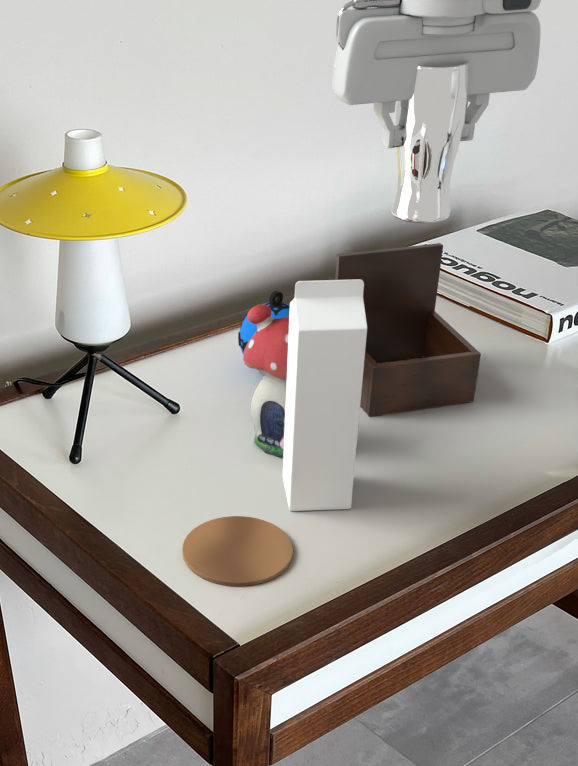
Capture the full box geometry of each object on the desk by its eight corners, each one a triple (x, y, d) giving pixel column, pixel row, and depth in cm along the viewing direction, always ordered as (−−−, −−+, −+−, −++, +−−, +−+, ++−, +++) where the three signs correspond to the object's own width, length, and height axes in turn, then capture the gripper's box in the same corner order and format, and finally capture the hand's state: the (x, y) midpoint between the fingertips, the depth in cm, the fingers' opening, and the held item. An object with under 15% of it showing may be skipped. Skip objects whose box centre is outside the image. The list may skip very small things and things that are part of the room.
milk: (351, 510, 97) (372, 294, 84) (288, 512, 97) (299, 295, 84) (340, 475, 102) (359, 266, 89) (281, 477, 102) (290, 267, 89)
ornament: (272, 395, 116) (275, 313, 110) (223, 369, 121) (223, 290, 115) (325, 372, 120) (330, 292, 115) (275, 347, 126) (278, 271, 120)
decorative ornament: (231, 438, 108) (232, 306, 99) (270, 415, 112) (274, 287, 103) (300, 469, 103) (307, 333, 94) (338, 444, 107) (349, 312, 98)
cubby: (426, 353, 124) (440, 242, 116) (473, 402, 114) (492, 284, 106) (329, 366, 122) (336, 253, 113) (368, 416, 112) (380, 297, 103)
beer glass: (373, 214, 106) (384, 60, 98) (414, 198, 110) (428, 49, 102) (426, 229, 102) (443, 70, 94) (468, 213, 106) (487, 59, 97)
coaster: (273, 512, 97) (273, 508, 97) (308, 575, 89) (308, 572, 89) (171, 528, 95) (171, 525, 95) (197, 594, 87) (197, 591, 87)
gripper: (350, 1, 90) (341, 161, 97) (558, -12, 94) (533, 142, 101) (326, -8, 95) (319, 144, 103) (524, -21, 99) (503, 127, 106)
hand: (427, 143), depth 102 cm, fingers closed on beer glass, 6 cm apart
